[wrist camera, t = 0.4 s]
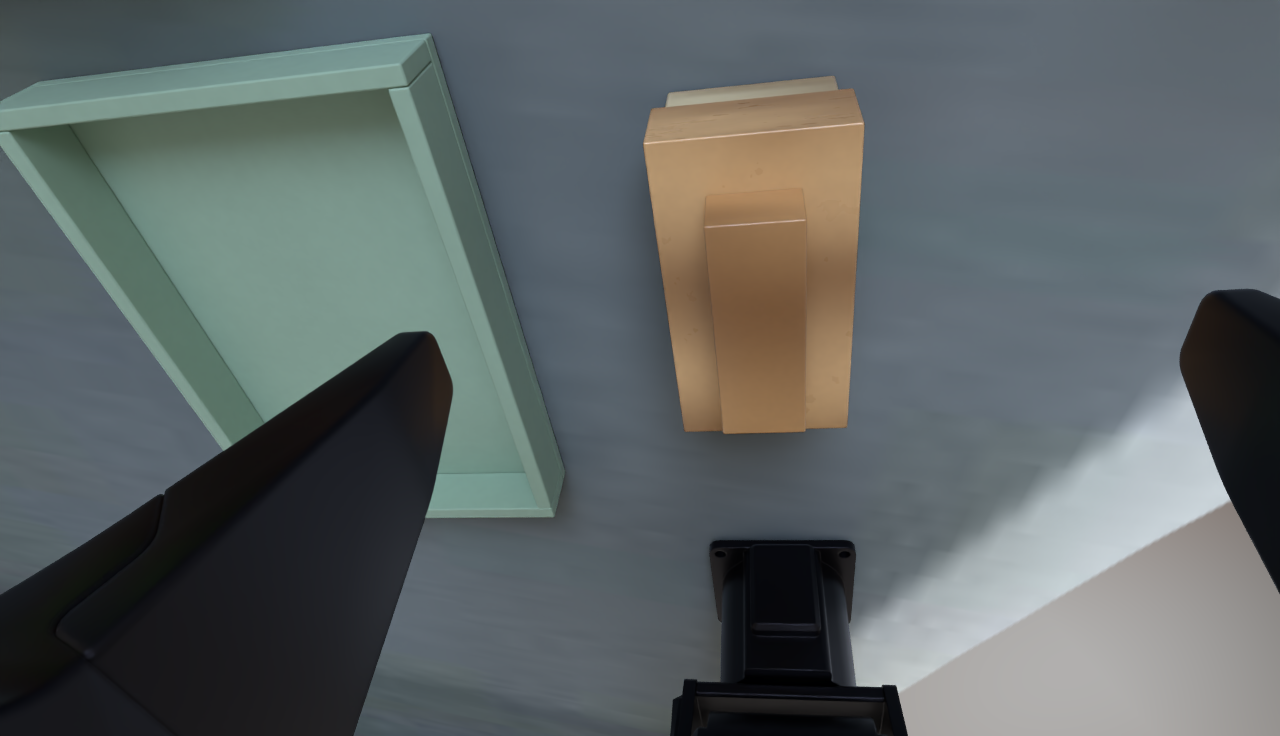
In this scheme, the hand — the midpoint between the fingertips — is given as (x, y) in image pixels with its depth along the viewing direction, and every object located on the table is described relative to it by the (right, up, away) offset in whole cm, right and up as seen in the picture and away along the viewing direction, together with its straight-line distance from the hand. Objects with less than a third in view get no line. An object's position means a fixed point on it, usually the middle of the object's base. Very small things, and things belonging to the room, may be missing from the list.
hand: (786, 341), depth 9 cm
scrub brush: (+2, +4, +14) cm, 15 cm away
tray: (-13, +2, +18) cm, 22 cm away
